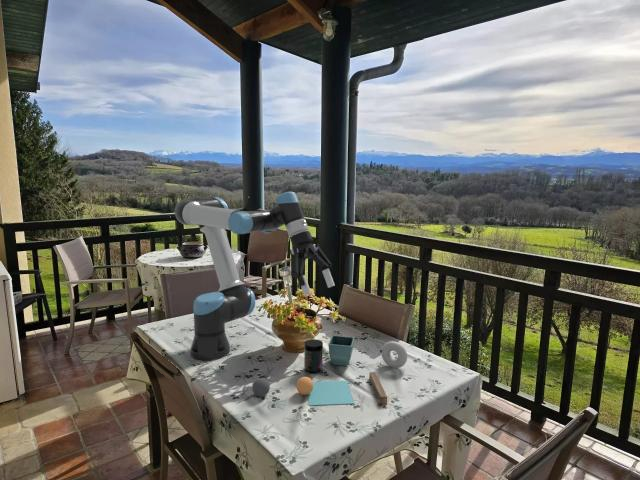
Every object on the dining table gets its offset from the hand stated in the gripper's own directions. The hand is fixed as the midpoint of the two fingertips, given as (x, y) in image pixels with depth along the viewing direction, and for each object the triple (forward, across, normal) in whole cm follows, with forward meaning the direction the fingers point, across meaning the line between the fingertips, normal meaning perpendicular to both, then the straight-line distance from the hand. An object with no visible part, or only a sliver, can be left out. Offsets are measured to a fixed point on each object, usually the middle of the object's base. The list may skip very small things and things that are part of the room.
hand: (320, 290), depth 135 cm
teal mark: (+32, -8, +5) cm, 33 cm away
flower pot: (+28, +12, +13) cm, 33 cm away
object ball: (+27, -14, +9) cm, 31 cm away
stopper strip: (+37, +3, -6) cm, 38 cm away
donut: (+36, +21, -3) cm, 42 cm away
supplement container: (+26, +1, +17) cm, 31 cm away
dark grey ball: (+22, -23, +18) cm, 37 cm away
